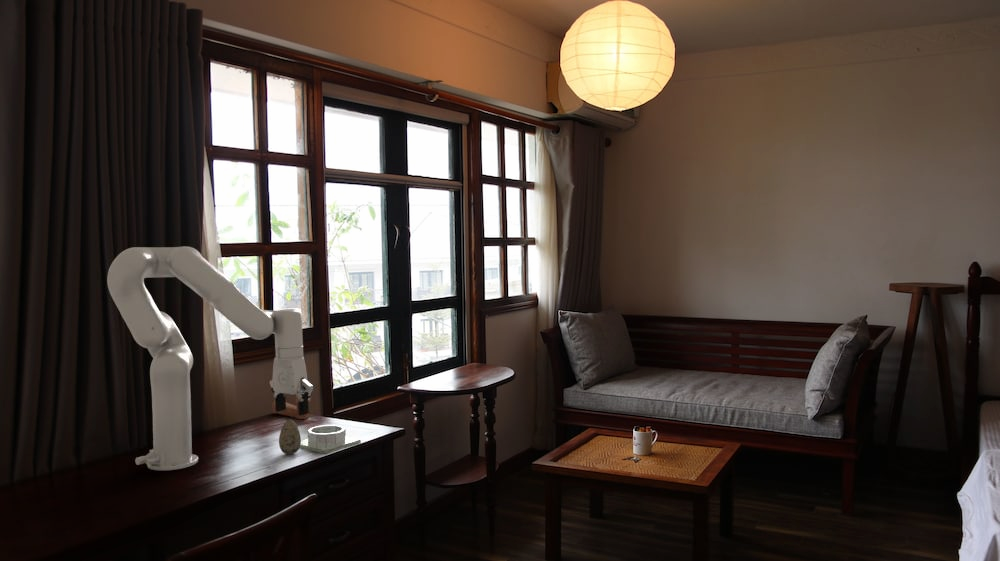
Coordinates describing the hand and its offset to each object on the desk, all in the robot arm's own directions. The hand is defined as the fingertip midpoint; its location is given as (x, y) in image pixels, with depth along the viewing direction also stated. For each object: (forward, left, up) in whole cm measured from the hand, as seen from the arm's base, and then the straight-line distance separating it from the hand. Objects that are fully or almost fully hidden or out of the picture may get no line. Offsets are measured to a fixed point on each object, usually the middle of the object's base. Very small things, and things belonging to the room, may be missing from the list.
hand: (292, 412), depth 204 cm
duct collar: (+12, -1, -12) cm, 17 cm away
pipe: (+30, +36, -12) cm, 48 cm away
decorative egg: (-1, 0, -12) cm, 12 cm away
